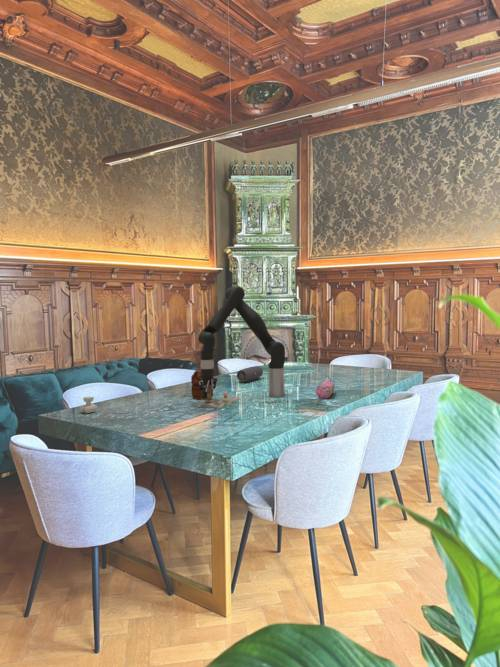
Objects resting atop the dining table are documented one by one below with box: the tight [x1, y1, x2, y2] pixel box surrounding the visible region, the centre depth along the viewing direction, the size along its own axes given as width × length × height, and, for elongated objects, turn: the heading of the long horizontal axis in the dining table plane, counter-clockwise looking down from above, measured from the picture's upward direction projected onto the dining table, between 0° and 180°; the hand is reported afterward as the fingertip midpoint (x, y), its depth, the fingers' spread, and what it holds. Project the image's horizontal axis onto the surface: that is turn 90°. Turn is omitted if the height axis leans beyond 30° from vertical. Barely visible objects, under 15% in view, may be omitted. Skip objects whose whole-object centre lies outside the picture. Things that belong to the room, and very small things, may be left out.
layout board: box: [199, 398, 235, 409], centre depth 257 cm, size 14×14×1 cm
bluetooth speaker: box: [236, 365, 264, 383], centre depth 330 cm, size 23×9×10 cm, turn 147°
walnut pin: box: [204, 385, 213, 401], centre depth 256 cm, size 4×4×8 cm
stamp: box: [79, 396, 98, 414], centre depth 243 cm, size 9×7×8 cm
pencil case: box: [315, 378, 336, 400], centre depth 274 cm, size 21×9×9 cm, turn 162°
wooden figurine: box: [190, 368, 205, 401], centre depth 273 cm, size 12×6×18 cm, turn 121°
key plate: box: [220, 391, 241, 402], centre depth 268 cm, size 8×8×4 cm
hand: (208, 397), depth 256 cm, fingers closed on walnut pin, 4 cm apart
